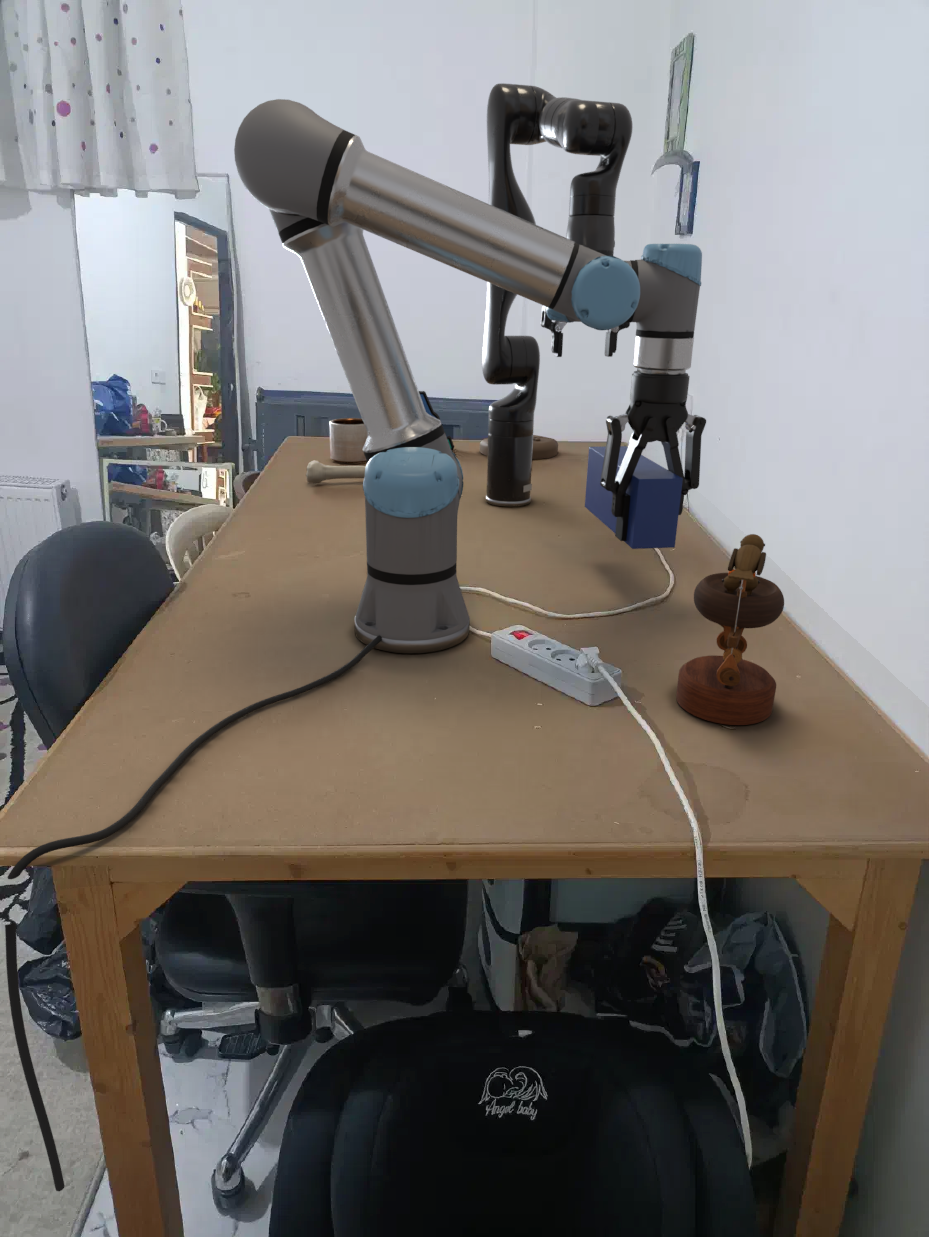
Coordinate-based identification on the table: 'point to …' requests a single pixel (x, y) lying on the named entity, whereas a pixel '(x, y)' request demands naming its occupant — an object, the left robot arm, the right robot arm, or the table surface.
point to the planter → (347, 440)
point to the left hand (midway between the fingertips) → (644, 537)
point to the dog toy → (332, 472)
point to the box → (638, 501)
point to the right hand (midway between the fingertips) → (583, 356)
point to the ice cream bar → (541, 447)
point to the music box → (733, 642)
